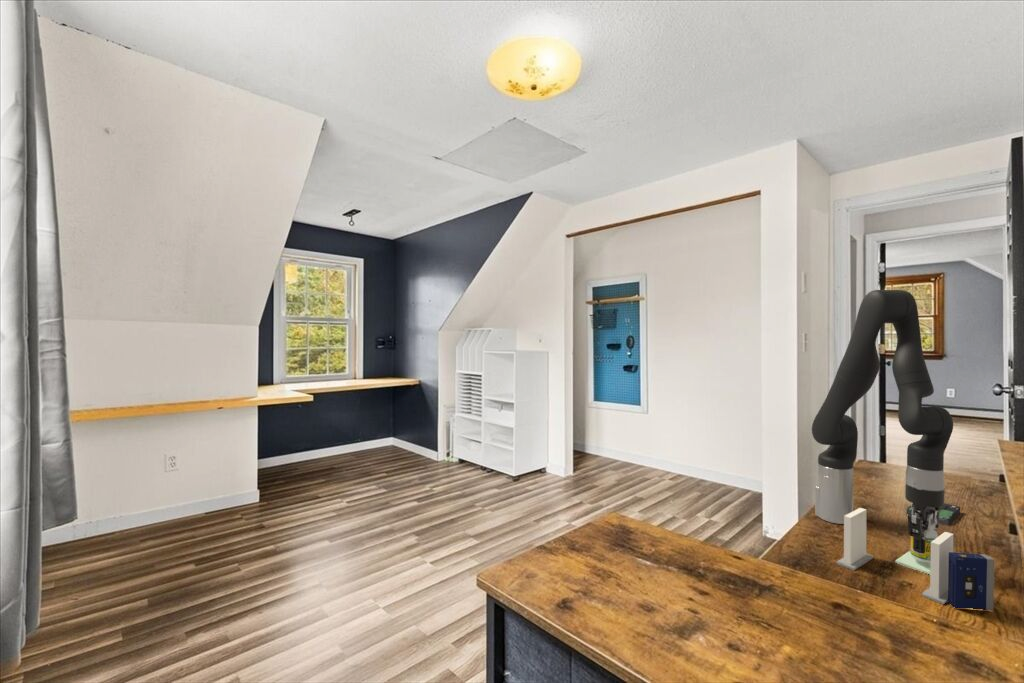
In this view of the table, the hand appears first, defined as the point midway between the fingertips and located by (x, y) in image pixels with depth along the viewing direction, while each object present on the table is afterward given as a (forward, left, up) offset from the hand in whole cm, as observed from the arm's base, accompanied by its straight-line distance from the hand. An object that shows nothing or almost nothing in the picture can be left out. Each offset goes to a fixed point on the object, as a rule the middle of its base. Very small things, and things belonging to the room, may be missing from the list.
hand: (923, 548), depth 121 cm
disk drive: (-10, +41, -5) cm, 42 cm away
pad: (0, 0, -4) cm, 4 cm away
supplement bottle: (0, 0, -3) cm, 3 cm away
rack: (-2, -12, -4) cm, 12 cm away
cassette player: (+12, -14, -5) cm, 19 cm away
